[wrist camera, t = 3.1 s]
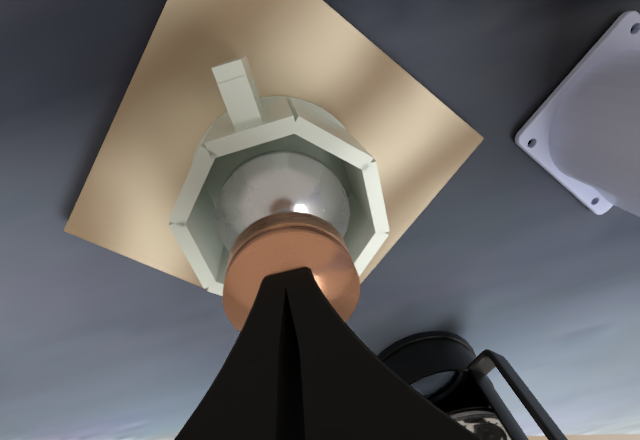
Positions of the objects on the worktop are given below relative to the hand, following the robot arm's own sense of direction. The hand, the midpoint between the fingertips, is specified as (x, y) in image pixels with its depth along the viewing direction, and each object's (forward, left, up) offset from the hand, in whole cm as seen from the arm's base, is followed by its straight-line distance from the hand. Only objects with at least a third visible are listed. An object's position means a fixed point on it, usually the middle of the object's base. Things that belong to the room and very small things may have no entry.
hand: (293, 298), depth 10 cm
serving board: (0, 0, -10) cm, 10 cm away
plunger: (0, 0, -6) cm, 6 cm away
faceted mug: (0, 0, -9) cm, 9 cm away
